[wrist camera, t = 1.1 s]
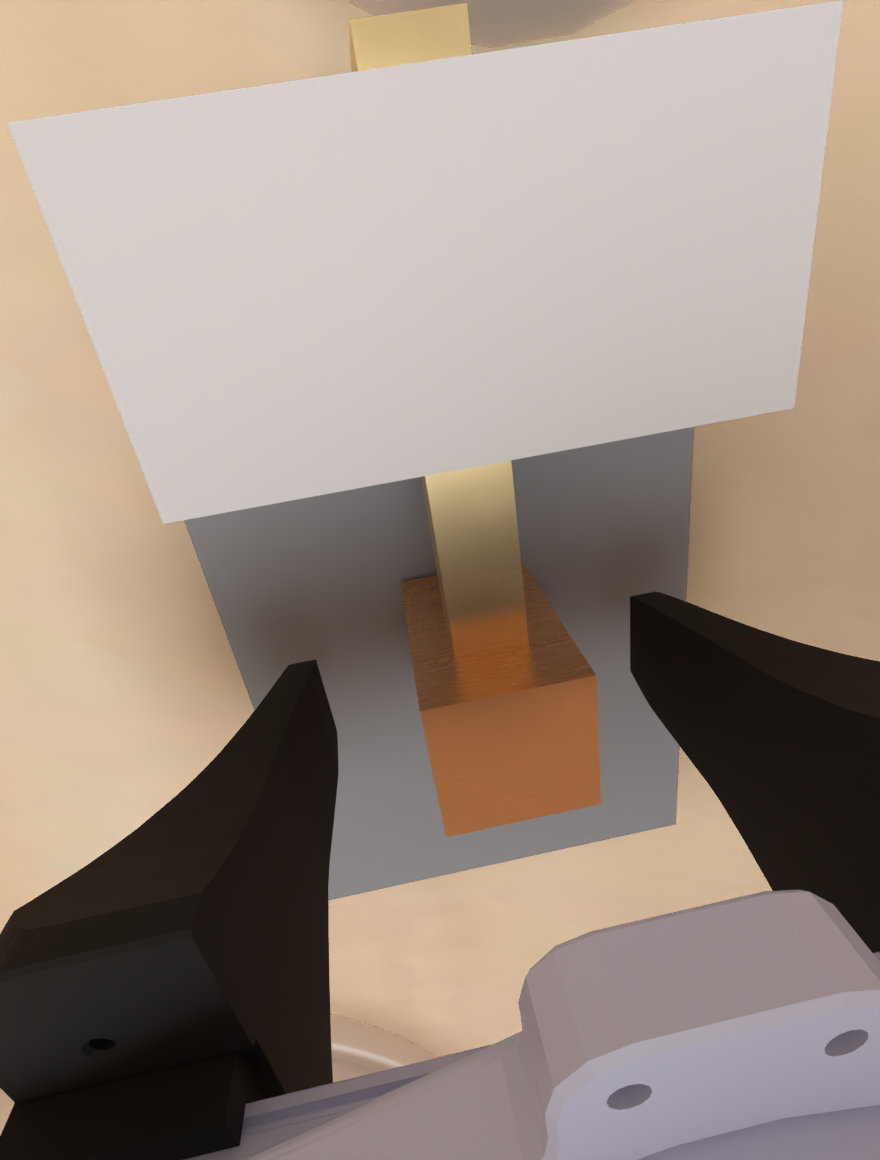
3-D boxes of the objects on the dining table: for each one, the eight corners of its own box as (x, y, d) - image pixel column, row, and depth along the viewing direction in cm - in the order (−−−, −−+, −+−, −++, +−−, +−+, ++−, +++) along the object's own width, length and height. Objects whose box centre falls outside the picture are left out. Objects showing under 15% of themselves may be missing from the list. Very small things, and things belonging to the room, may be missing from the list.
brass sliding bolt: (476, 99, 10) (569, -73, 6) (530, 659, 15) (601, 803, 11) (308, 124, 10) (263, -33, 5) (420, 682, 15) (445, 837, 11)
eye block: (677, 92, 12) (1051, -171, 5) (658, 797, 20) (792, 1013, 14) (84, 182, 11) (-282, 8, 5) (327, 868, 20) (311, 1128, 13)
